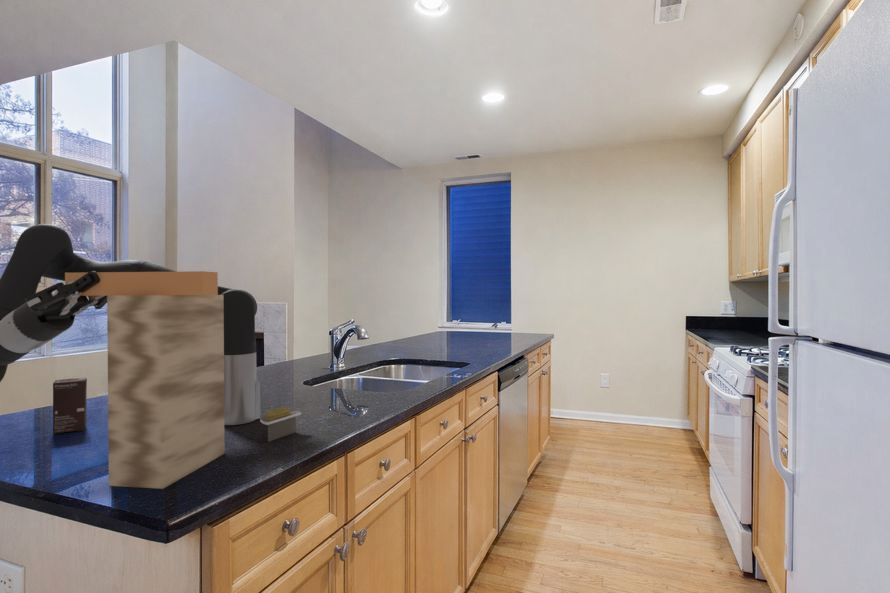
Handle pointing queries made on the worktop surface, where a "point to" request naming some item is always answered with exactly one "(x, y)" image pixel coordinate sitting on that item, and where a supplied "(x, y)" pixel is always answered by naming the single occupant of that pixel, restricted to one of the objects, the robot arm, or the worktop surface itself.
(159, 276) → the rail
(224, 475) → the worktop surface
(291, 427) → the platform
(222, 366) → the tall wooden block
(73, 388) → the box
